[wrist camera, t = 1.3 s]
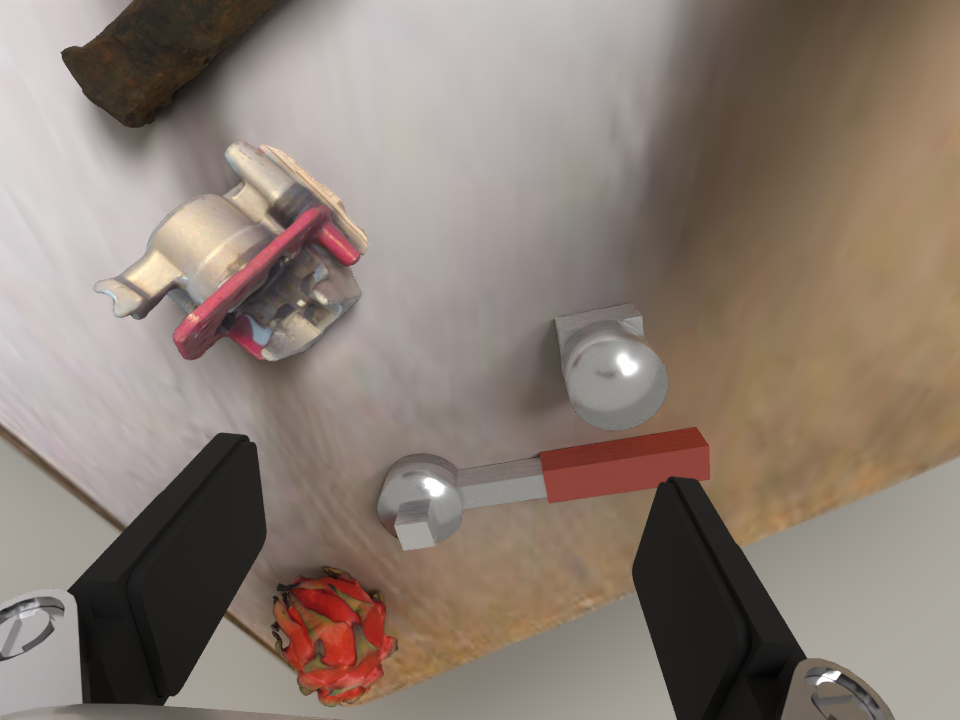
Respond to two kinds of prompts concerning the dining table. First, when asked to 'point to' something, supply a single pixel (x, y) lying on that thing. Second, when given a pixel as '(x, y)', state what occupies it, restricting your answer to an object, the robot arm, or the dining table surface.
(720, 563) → the robot arm
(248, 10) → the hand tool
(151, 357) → the dining table surface
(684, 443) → the ratchet
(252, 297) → the brake caliper
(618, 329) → the socket
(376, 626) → the dragon fruit
